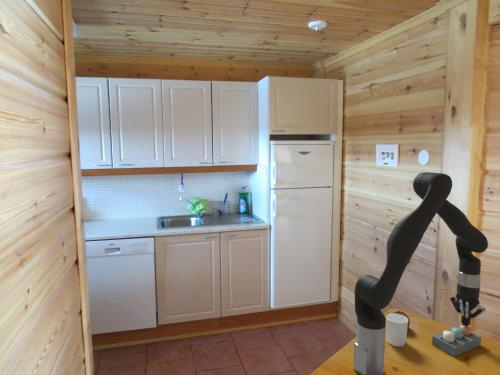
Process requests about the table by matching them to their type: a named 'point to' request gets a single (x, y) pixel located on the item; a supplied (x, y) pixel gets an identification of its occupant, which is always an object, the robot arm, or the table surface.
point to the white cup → (396, 329)
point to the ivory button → (448, 336)
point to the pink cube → (466, 330)
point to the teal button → (457, 333)
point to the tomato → (403, 315)
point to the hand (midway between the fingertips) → (465, 325)
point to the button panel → (456, 343)
